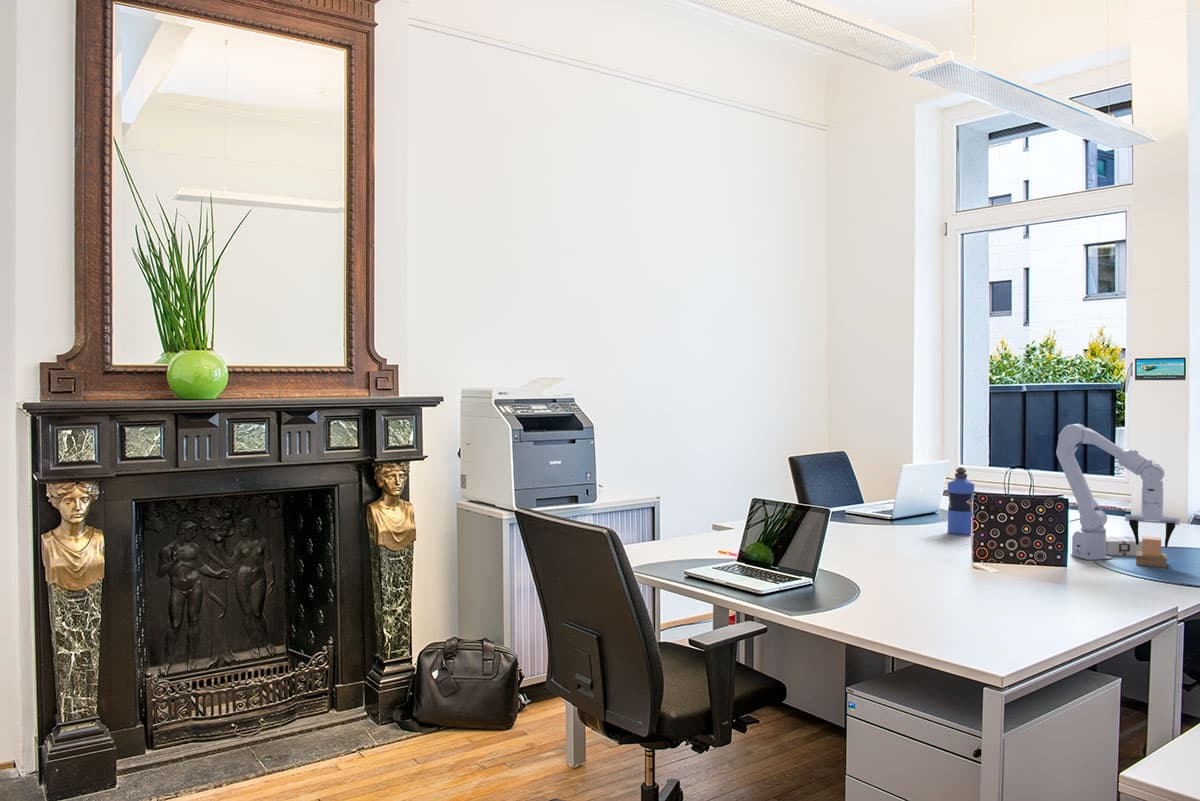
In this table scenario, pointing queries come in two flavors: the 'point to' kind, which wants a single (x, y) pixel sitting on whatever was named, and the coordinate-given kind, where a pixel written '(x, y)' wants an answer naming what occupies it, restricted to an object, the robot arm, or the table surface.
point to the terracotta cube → (1151, 546)
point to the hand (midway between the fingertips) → (1151, 545)
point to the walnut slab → (1151, 560)
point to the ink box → (1122, 546)
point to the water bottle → (960, 504)
